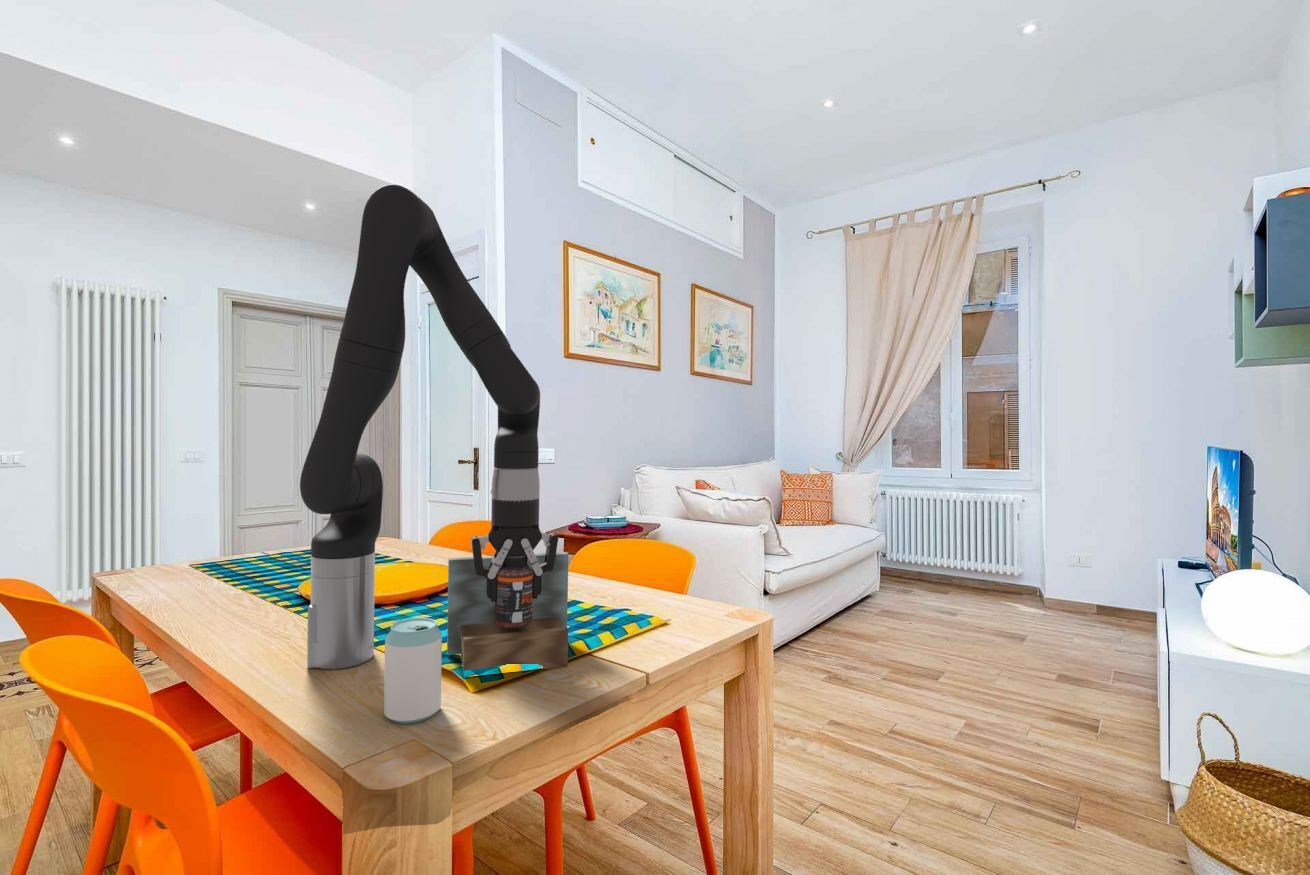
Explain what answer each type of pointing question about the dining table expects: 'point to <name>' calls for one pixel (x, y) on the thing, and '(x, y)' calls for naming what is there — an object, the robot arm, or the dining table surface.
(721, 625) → the dining table surface
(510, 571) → the supplement bottle
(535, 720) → the dining table surface
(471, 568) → the wall board
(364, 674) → the dining table surface
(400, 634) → the can
